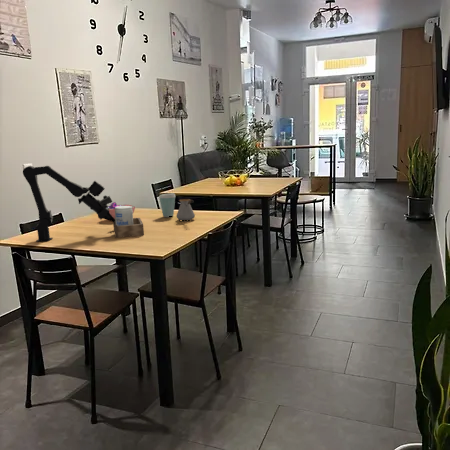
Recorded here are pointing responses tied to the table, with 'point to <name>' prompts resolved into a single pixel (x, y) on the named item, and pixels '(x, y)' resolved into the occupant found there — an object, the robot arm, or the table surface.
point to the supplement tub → (123, 215)
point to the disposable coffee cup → (167, 204)
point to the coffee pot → (185, 210)
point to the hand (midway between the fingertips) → (115, 221)
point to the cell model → (113, 205)
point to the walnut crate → (129, 229)
